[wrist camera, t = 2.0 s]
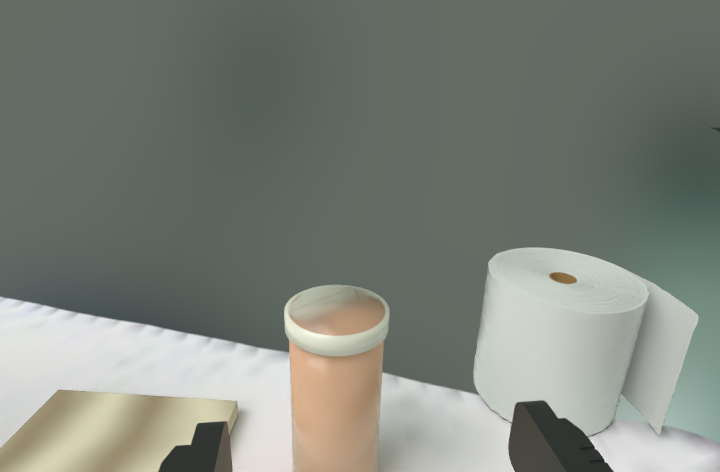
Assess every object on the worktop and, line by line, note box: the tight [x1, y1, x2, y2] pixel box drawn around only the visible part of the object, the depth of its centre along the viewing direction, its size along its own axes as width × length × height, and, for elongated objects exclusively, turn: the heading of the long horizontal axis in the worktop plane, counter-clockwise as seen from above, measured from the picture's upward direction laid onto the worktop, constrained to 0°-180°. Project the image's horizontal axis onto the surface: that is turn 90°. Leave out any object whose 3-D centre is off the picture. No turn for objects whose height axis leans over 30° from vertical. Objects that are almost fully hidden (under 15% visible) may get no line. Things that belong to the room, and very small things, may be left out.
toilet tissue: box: [473, 248, 698, 436], centre depth 35 cm, size 11×12×10 cm
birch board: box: [0, 390, 238, 472], centre depth 28 cm, size 13×12×1 cm
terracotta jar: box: [284, 285, 389, 472], centre depth 26 cm, size 5×5×12 cm
